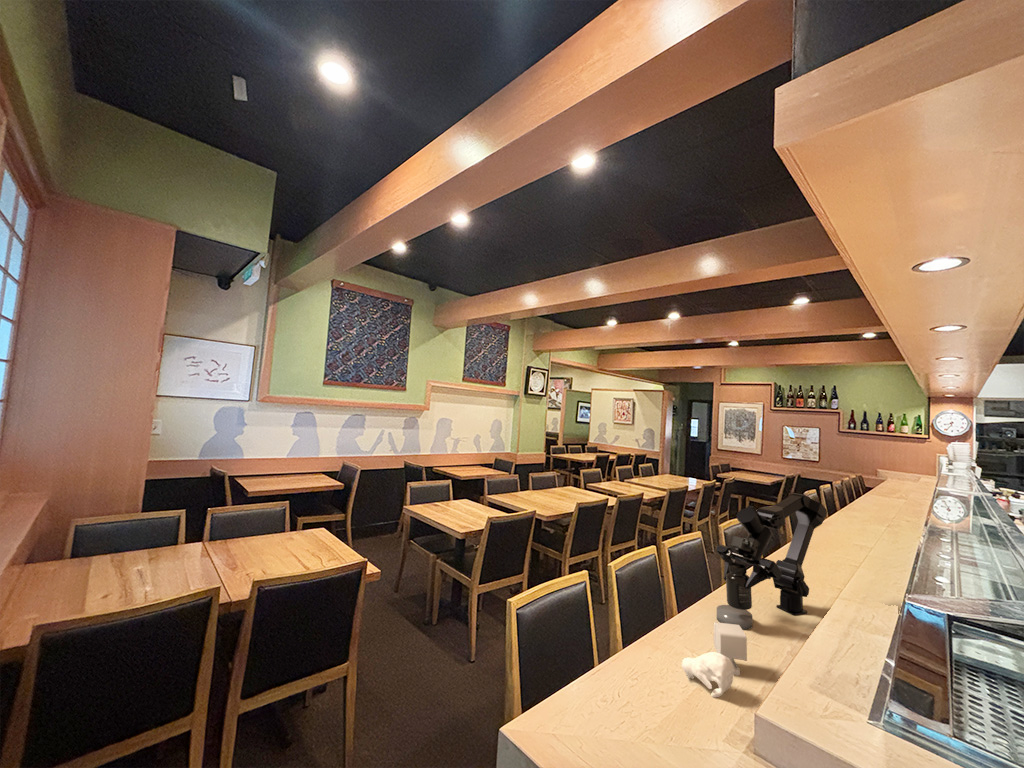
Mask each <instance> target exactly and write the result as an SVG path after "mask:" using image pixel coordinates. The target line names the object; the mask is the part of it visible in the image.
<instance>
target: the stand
mask: <svg viewBox="0 0 1024 768" xmlns="http://www.w3.org/2000/svg"><path fill="white" fill-rule="evenodd" d="M716 620H717V622H718V623H727V624H736V625H740V627H741V628H742V630H743V631H748V630H751V629H752V628H753V613H751V612H750V611H749V610H741V609H736V608H733V607H731V606H730V605H729V604H719V605H718V606H717V607H716Z"/></svg>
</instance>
